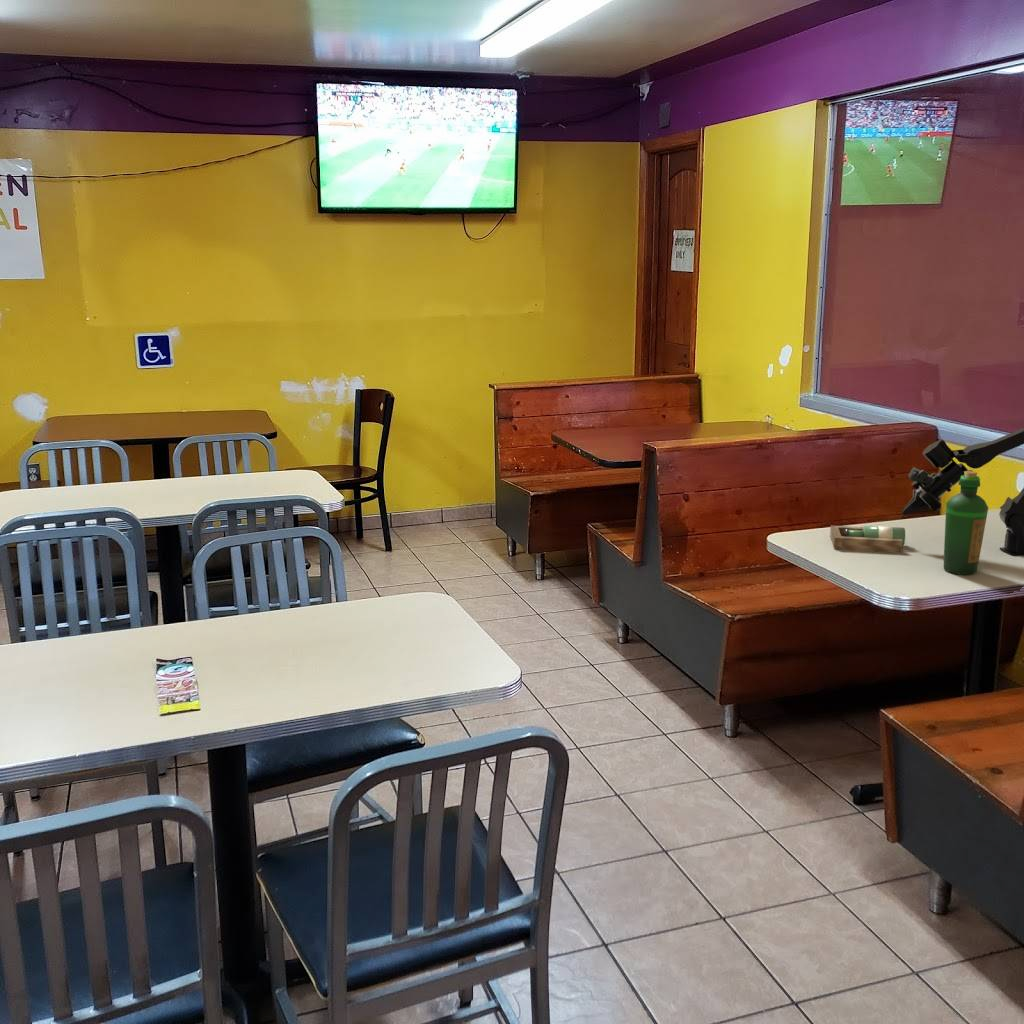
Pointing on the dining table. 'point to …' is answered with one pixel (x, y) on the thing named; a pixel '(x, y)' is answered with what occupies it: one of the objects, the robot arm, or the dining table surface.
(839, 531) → the cradle
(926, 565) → the dining table surface
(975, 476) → the bottle
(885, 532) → the bottle
